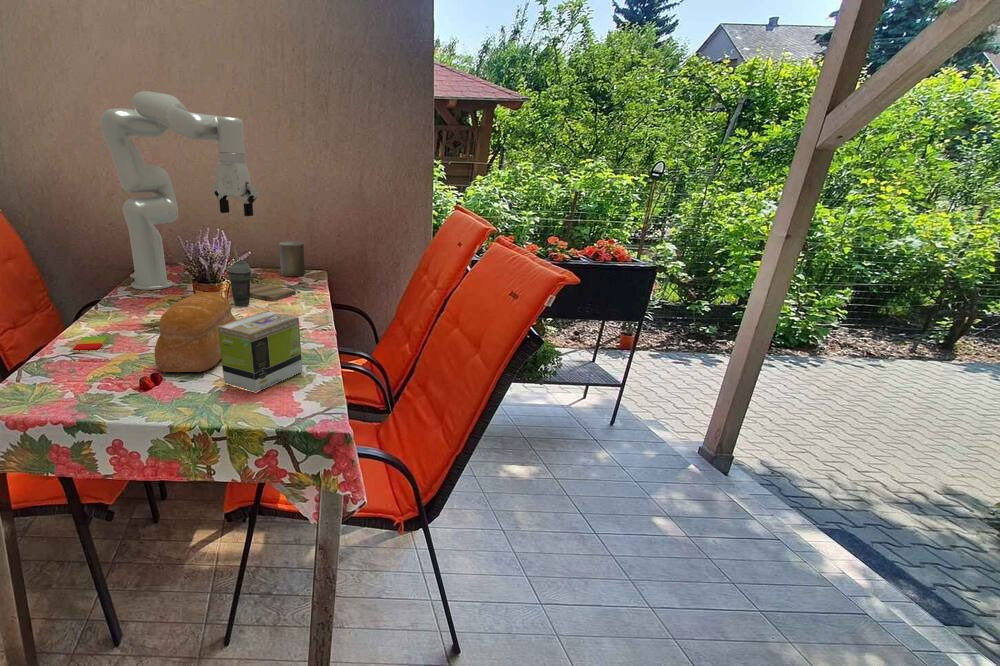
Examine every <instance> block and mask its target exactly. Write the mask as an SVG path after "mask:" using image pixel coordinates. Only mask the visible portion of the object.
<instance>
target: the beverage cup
mask: <svg viewBox="0 0 1000 666" xmlns="http://www.w3.org/2000/svg"><path fill="white" fill-rule="evenodd" d="M233 250H234V254H235V260H233V261H232V262H234V261H237V260H240V261H238V262H236V263H235V264H233V265H232V266H231V267H230V268H228V267H227V275H228V279H229V282H230V288H231V293H232V298H233V303H234V307H237V306H239V308H244V307H243V306H246V307H249V306H250V302H251V301H250V300H251V297H250V285H251V277H252V270H251V267H250V265H249V263H248V262H246V261H245V260H243V259H239V258H238V252H237V246H236V245H235V246H233ZM248 305H249V306H248Z"/></svg>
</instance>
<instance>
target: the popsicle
mask: <svg viewBox="0 0 1000 666" xmlns="http://www.w3.org/2000/svg"><path fill="white" fill-rule="evenodd" d="M103 333H104V334H105V332H102V331H101V332H99V333H98V334H100V335H101V334H102V335H101V337H96V336H85V337H82V338H81V339H80V340H79V341H78V342H77V344H75V346H74V347H73V348H72V350H79V351H80V350H88V351H89V350H98V349H100V348H101V347H102V346H103V344H104V343H105V342H106V341H107V340H108V341H109V337H108V336H107V335H106V336H104V334H103Z"/></svg>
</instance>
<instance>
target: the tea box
mask: <svg viewBox="0 0 1000 666" xmlns="http://www.w3.org/2000/svg"><path fill="white" fill-rule="evenodd" d="M236 320H237V319H236ZM218 332H219V341H220V350H221V359H220V360H221V365H222V366H221V367H222V376H223V383H224V382H225V383H228V384H231V385H235V386H238V387H241V388H244V389H247V390H250V391H254V392H257V391H259V390H262V389H264V388H266V387H269V386H271V385H273V384H275V383H278V382H280V381H282V380H284V381H286V380H288V379H290V378H292V377H294V375H295V376H296V374H297V375H299V374H301V373H303V362H302V361H303V360H302V345H301V333H300V318H299V317H298V316H293V315H289V314H283V313H278V312H275V311H269V310H267V311H263V312H259V313H257V314H254V315H250V316H248V317H244V318H241V319H238V320H237V321H234V322H230V323H227V324H224V325H221V326H218ZM300 372H301V373H300ZM298 373H299V374H298ZM289 377H290V378H289ZM287 378H288V379H287ZM285 379H286V380H285ZM282 382H283V381H282ZM280 383H281V382H280ZM278 384H279V383H278ZM275 385H276V384H275ZM273 386H274V385H273ZM271 387H272V386H271ZM269 388H270V387H269Z"/></svg>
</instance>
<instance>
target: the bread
mask: <svg viewBox="0 0 1000 666" xmlns="http://www.w3.org/2000/svg"><path fill="white" fill-rule="evenodd" d="M232 309H233V307H232V305H231V302H230V301H229V299H228V298H226V297H225V296H223V295H222V294H220V293H214V292H196V293H193V294H191V295H189V296H188V297H185V298H181V300H179V301H177V302H175V303H174V304H173V305H172V306H171V307H170V308H169V309H167V310H166V311H165V312H164V313H162V315H161V316H160V319H159V324H158V327H159V331H160V334H159V336H158V338H157V340H156V343H155V347H154V361H155V364H156V367H157V369H158V370H159V371H160V372H162V371H163V372H162V373H165V372H198V373H203V372H206V371H207V370H210V368H211V369H213V368H212V367H213V366H214V367H215V366H216V365H217V364H218V363H219V362H220V361H221V360H222V359H221V350H220V341H219V332H218V326H221V325H224V324H227V323H230V322H234V321H237V318H236V317H235V316H234V314H233V313H232ZM202 371H203V372H202Z"/></svg>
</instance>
